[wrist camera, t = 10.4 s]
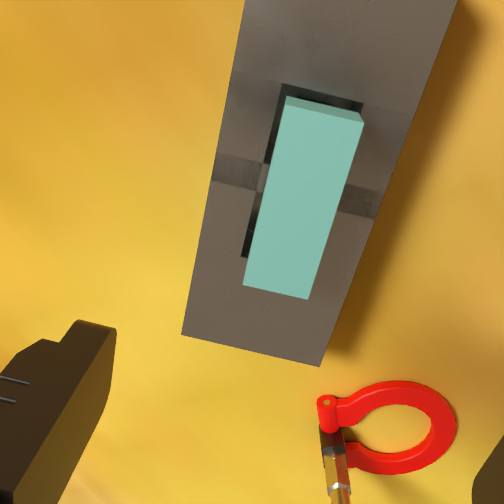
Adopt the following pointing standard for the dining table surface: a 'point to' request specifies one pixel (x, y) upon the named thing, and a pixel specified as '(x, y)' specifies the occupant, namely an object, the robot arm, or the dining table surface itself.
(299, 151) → the teal rectangular prism
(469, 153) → the dining table surface
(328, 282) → the rectangular board
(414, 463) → the tow hook
